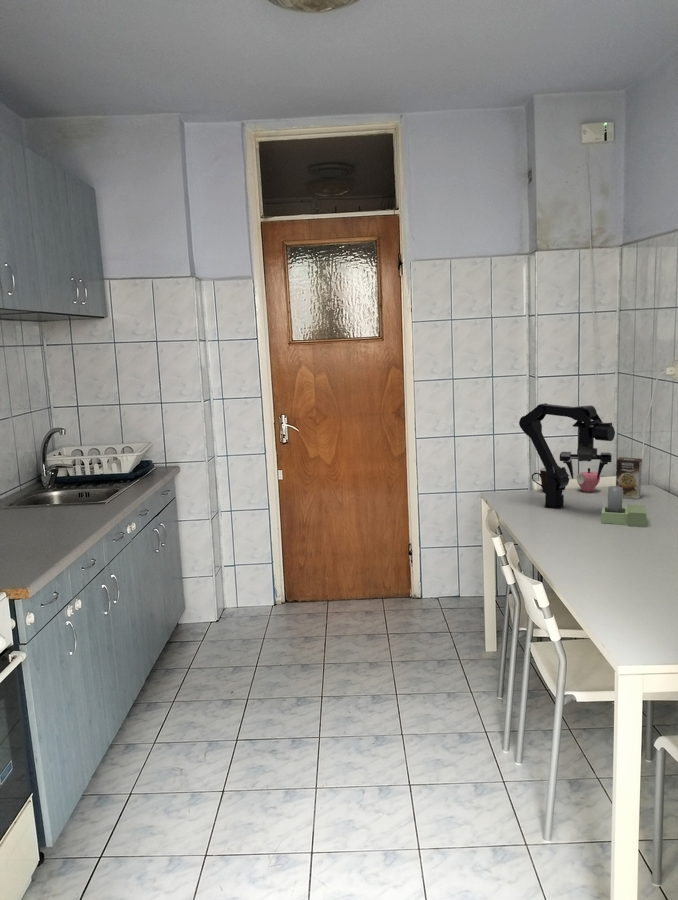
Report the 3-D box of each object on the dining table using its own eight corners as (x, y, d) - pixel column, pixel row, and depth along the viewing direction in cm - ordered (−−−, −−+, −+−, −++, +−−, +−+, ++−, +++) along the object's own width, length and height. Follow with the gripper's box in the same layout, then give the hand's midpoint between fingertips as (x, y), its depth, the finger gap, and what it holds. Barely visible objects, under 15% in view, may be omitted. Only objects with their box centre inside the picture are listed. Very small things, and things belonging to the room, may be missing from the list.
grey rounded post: (610, 523, 268) (611, 489, 265) (605, 519, 273) (605, 486, 270) (624, 522, 268) (625, 488, 266) (618, 518, 273) (618, 485, 271)
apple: (573, 489, 320) (573, 467, 318) (590, 488, 322) (591, 465, 320) (585, 494, 311) (585, 471, 309) (603, 492, 313) (604, 469, 311)
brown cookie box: (614, 497, 304) (615, 459, 301) (618, 494, 309) (619, 456, 307) (638, 499, 299) (639, 460, 296) (641, 496, 305) (642, 458, 302)
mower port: (601, 524, 266) (601, 511, 265) (602, 515, 277) (602, 503, 276) (646, 526, 261) (646, 513, 260) (644, 518, 272) (645, 505, 271)
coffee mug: (561, 490, 320) (562, 467, 318) (558, 494, 312) (559, 471, 311) (534, 488, 325) (534, 466, 323) (531, 493, 317) (531, 470, 316)
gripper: (558, 441, 275) (558, 482, 278) (611, 442, 269) (610, 484, 271) (560, 437, 285) (560, 476, 288) (612, 438, 279) (611, 478, 282)
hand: (585, 478), depth 282 cm, fingers open, 9 cm apart
